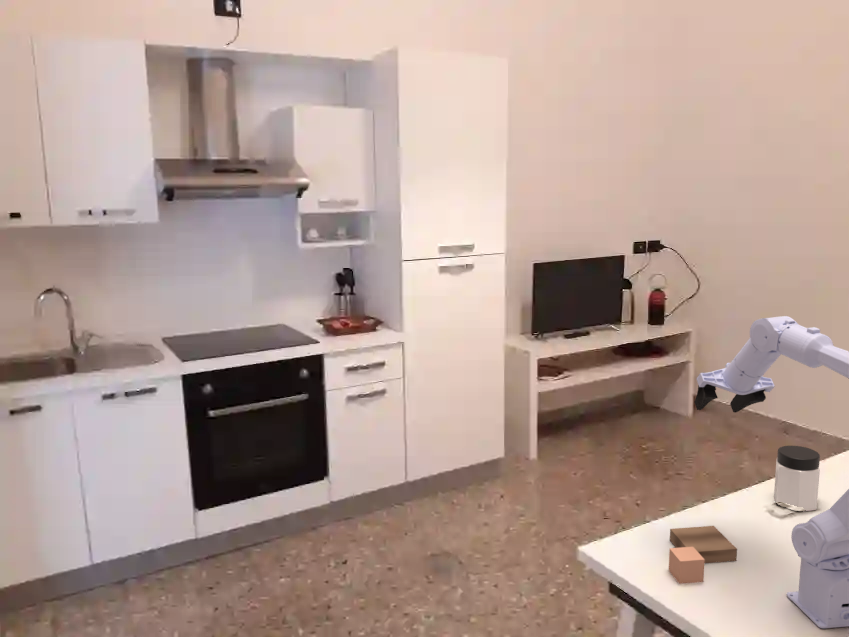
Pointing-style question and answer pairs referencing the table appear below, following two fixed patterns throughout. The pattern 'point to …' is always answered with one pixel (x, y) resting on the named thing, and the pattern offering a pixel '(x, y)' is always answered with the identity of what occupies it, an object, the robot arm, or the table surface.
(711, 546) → the base block
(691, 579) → the cube
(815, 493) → the jar
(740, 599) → the table surface
